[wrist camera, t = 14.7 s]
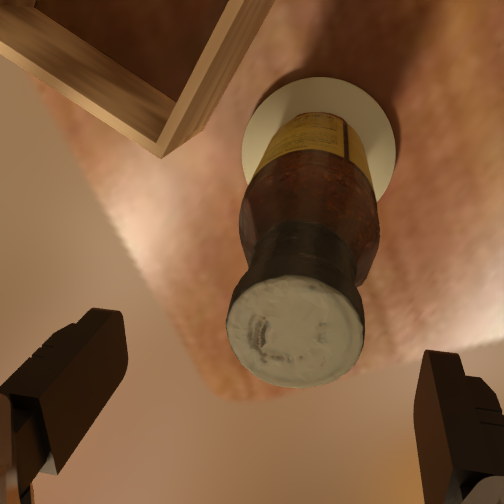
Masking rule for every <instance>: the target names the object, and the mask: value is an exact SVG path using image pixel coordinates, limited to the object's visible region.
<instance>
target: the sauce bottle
mask: <svg viewBox="0 0 504 504" xmlns="http://www.w3.org/2000/svg"><path fill="white" fill-rule="evenodd" d="M379 233H380V227H379V219H378V213H377V200H376V196H375V192H374V187H373V183H372V179H371V174H370V170H369V166H368V162H367V158H366V153H365V149H364V146H363V143H362V141H361V139H360V137H359V136H358V134H357V133H356V131H355V130H354V129H353V128H352V127H351V126H350V125H349V124H347V122H346V121H345V120H344V119H343V118H341V117H339V116H336V115H334V114H331V113H325V112H310V113H303V114H299V115H297V116H296V117H295V118H293V119H292V120H290V121H289V122H287V123H286V124H284V125H283V126H282V127H281V128H280V129H279V130H278V131H277V132H276V133H275V135H274V136H273V137H272V139H271V141H270V143H269V145H268V147H267V149H266V150H265V153H264V155H263V157H262V159H261V161H260V163H259V165H258V167H257V169H256V171H255V173H254V175H253V177H252V179H251V181H250V183H249V185H248V187H247V189H246V192H245V194H244V197H243V200H242V204H241V209H240V215H239V234H240V239H241V244H242V247H243V250H244V254H245V257H246V260H247V263H248V267H249V269H248V271H247V272H246V273H245V274H244V275H243V277H242V278H241V279H240V281H239V283H238V285H237V286H236V287H235V289H234V291H233V294H232V298H231V302H230V305H229V310H228V314H227V318H226V329H227V335H228V339H229V342H230V344H231V347H232V350H233V351H234V353H235V355H236V356H237V358H238V359H239V361H240V362H241V364H242V365H243V366H244V367H245V368H247V369H248V370H249V371H250V372H251V373H252V374H253V375H254V376H256V377H258V378H260V379H261V380H263V381H265V382H267V383H270V384H273V385H275V386H282V387H289V388H301V389H303V388H309V387H316V386H321V385H324V384H327V383H330V382H333V381H335V380H337V379H338V378H339V377H341V376H342V375H344V374H346V373H347V372H348V371H349V370H350V369H351V367H352V366H354V364H355V363H356V361H357V360H358V358H359V356H360V354H361V351H362V348H363V345H364V336H365V318H364V309H363V304H362V299H361V296H360V294H359V292H358V290H357V287H358V286H361V285H362V284H363V282H364V280H365V279H366V278H367V275H368V273H369V270H370V268H371V265H372V263H373V260H374V258H375V256H376V253H377V250H378V247H379V239H380V234H379Z"/></svg>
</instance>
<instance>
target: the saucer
mask: <svg viewBox="0 0 504 504" xmlns="http://www.w3.org/2000/svg"><path fill="white" fill-rule="evenodd" d="M310 112H325V113H331V114H334V115H336V116H339V117H341V118H343V119H344V120H345V121H346V122H347V124H349V125H350V126H351V127H352V128H353V129H354V130H355V131H356V133H357V134H358V136H359V137H360V139H361V141H362V143H363V146H364V149H365V153H366V158H367V162H368V166H369V170H370V174H371V179H372V183H373V187H374V192H375V196H376V200H377V202H378V200H379V199H380V198H381V196H382V195H383V193H384V192H385V190H386V188H387V186H388V184H389V183H390V180H391V177H392V174H393V170H394V166H395V157H396V148H395V139H394V135H393V131H392V128H391V125H390V122H389V120H388V118H387V116H386V115H385V113H384V111H383V110H382V108H381V107H380V105H379V104H378V103H377V102H376V101H375V100H374V99H373V98H372V97H371V96H370V95H369V94H368V93H366V92H365V91H364V90H363V89H361V88H359V87H357V86H356V85H354V84H352V83H349V82H347V81H344V80H340V79H336V78H331V77H310V78H304V79H300V80H297V81H294V82H291V83H289V84H287V85H285V86H283V87H281V88H280V89H278V90H276V91H275V92H273V93H272V94H271V95H270V96H269V97H268V98H266V99H265V100H264V101H263V102H262V104H261V105H260V106H259V107H258V108H257V110H256V111H255V113H254V114H253V116H252V117H251V119H250V121H249V123H248V125H247V128H246V131H245V134H244V139H243V144H242V165H243V170H244V174H245V177H246V180H247V183H248V185H249V183H250V181H251V179H252V177H253V175H254V173H255V171H256V169H257V167H258V165H259V163H260V161H261V159H262V157H263V155H264V153H265V150H266V149H267V147H268V145H269V143H270V141H271V139H272V137H273V136H274V135H275V133H276V132H277V131H278V130H279V129H280V128H281V127H282V126H283V125H284V124H286V123H287V122H289V121H290V120H292V119H293V118H295V117H296V116H297V115H299V114H303V113H310Z"/></svg>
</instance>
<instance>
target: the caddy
mask: <svg viewBox="0 0 504 504" xmlns="http://www.w3.org/2000/svg"><path fill="white" fill-rule="evenodd" d="M274 1H275V0H229V1H228V3H227V5H226V7H225V9H224V11H223V13H222V15H221V17H220V19H219V21H218V23H217V25H216V27H215V29H214V31H213V33H212V35H211V37H210V39H209V41H208V43H207V44H206V46H205V48H204V50H203V52H202V54H201V56H200V58H199V60H198V62H197V64H196V66H195V68H194V70H193V72H192V74H191V76H190V78H189V80H188V82H187V84H186V86H185V88H184V89H183V91H182V93H181V95H180V97H179V99H178V101H177V103H176V102H175V101H173V100H172V99H170V98H169V97H167V96H166V95H164V94H163V93H161V92H160V91H158V90H157V89H155V88H154V87H152V86H151V85H149V84H148V83H146V82H145V81H143V80H142V79H140V78H139V77H137V76H136V75H134V74H133V73H131V72H130V71H128V70H127V69H125V68H124V67H122V66H121V65H119V64H118V63H116V62H115V61H113V60H112V59H111V58H109V57H108V56H106V55H105V54H103V53H102V52H100V51H99V50H97V49H96V48H94V47H93V46H91V45H90V44H88V43H87V42H85V41H84V40H82V39H81V38H79V37H78V36H76V35H75V34H73V33H72V32H70V31H69V30H67V29H66V28H64V27H63V26H61V25H60V24H58V23H57V22H55V21H54V20H52V19H51V18H49V17H48V16H46V15H45V14H43V13H42V12H40V11H39V10H37V9H36V8H34V6H35V3H36V0H0V54H1V55H3V56H4V57H6V58H7V59H9V60H10V61H12V62H13V63H15V64H16V65H18V66H20V67H21V68H23V69H24V70H26V71H27V72H29V73H30V74H32V75H33V76H35V77H36V78H38V79H39V80H41V81H42V82H44V83H45V84H47V85H48V86H50V87H52V88H53V89H55V90H56V91H58V92H59V93H61V94H62V95H64V96H65V97H67V98H68V99H70V100H71V101H73V102H74V103H76V104H77V105H79V106H81V107H82V108H84V109H85V110H87V111H88V112H90V113H91V114H93V115H94V116H96V117H97V118H99V119H100V120H102V121H103V122H105V123H106V124H108V125H109V126H111V127H113V128H114V129H116V130H117V131H119V132H120V133H122V134H123V135H125V136H126V137H128V138H129V139H131V140H132V141H134V142H135V143H137V144H138V145H140V146H141V147H143V148H145V149H146V150H148V151H149V152H151V153H152V154H154V155H155V156H157V157H158V158H160V159H162V158H163V157H165V156H166V155H168V154H169V153H170V152H172V151H173V150H175V149H176V148H178V147H179V146H181V145H182V144H184V143H185V142H187V141H188V140H190V139H191V138H192V137H194V136H195V135H197V134H198V133H200V132H201V131H203V129H204V127H205V125H206V124H207V122H208V120H209V118H210V116H211V115H212V113H213V111H214V109H215V107H216V106H217V104H218V102H219V100H220V98H221V97H222V95H223V93H224V91H225V90H226V88H227V86H228V84H229V82H230V81H231V79H232V77H233V75H234V73H235V72H236V70H237V68H238V66H239V64H240V63H241V61H242V59H243V57H244V55H245V54H246V52H247V50H248V48H249V46H250V45H251V43H252V41H253V39H254V37H255V36H256V34H257V32H258V30H259V28H260V27H261V25H262V23H263V21H264V19H265V18H266V16H267V14H268V12H269V10H270V9H271V7H272V5H273V3H274Z"/></svg>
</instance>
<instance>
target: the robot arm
mask: <svg viewBox="0 0 504 504" xmlns="http://www.w3.org/2000/svg"><path fill="white" fill-rule="evenodd" d="M127 365H128V352H127V344H126V336H125V328H124V321H123V316H122V313H121V312H120V311H116V310H107V309H100V308H91V309H90V310H89V311H88V312H87V313H86V314H85V315H84V316H83V317H82V318H81V319H80V320H79V321H78V322H77V323H76V324H75V323H71V324H69V325H68V326H66V327H64V328H62V329H60V330H58V331H57V332H55V333H54V334H53V335H52V336H51V337H50V338H49V339H48V340H47V341H45V342H44V344H42V347H41V348H38V349H37V350H36V352H34V353H33V354H32V357H31V358H30V357H29V358H28V359H27V360H26V361H25V362H24V363H23V364H22V365H21V367H19V368H18V369H17V370H16V371H15V372H14V373H13V374H12V375H11V376H10V377H9V378H8V379H7V380H6V381H5V382H4V383H3V384H2V385H1V386H0V504H35V503H34V490H33V485H32V481H33V479H34V478H35V477H36V475H37V474H38V472H42V473H47V474H52V475H58V474H59V472H60V471H61V469H62V468H63V467H64V465H65V464H66V462H67V461H68V459H69V458H70V456H71V454H72V453H73V452H74V450H75V449H76V447H77V446H78V444H79V443H80V441H81V440H82V439H83V437H84V436H85V434H86V433H87V431H88V430H89V428H90V427H91V425H92V424H93V422H94V421H95V419H96V418H97V416H98V415H99V413H100V412H101V410H102V409H103V408H104V406H105V405H106V403H107V402H108V400H109V399H110V397H111V396H112V394H113V393H114V391H115V390H116V388H117V387H118V386H119V384H120V383H121V381H122V380H123V378H124V375H125V373H126V370H127ZM413 414H414V429H415V436H416V443H417V450H418V458H419V465H420V472H421V479H422V486H423V494H424V501H425V504H504V415H502V409H501V407H500V404H499V401H498V399H497V396H496V394H495V393H494V391H493V390H492V389H491V388H490V387H489V386H488V385H487V384H486V383H485V382H484V381H483V380H482V378H480V377H472V376H465V372H464V370H463V366H462V363H461V359H460V356H459V354H457V353H450V352H442V351H433V350H425V352H424V355H423V359H422V364H421V369H420V374H419V379H418V384H417V389H416V395H415V400H414V413H413Z"/></svg>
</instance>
